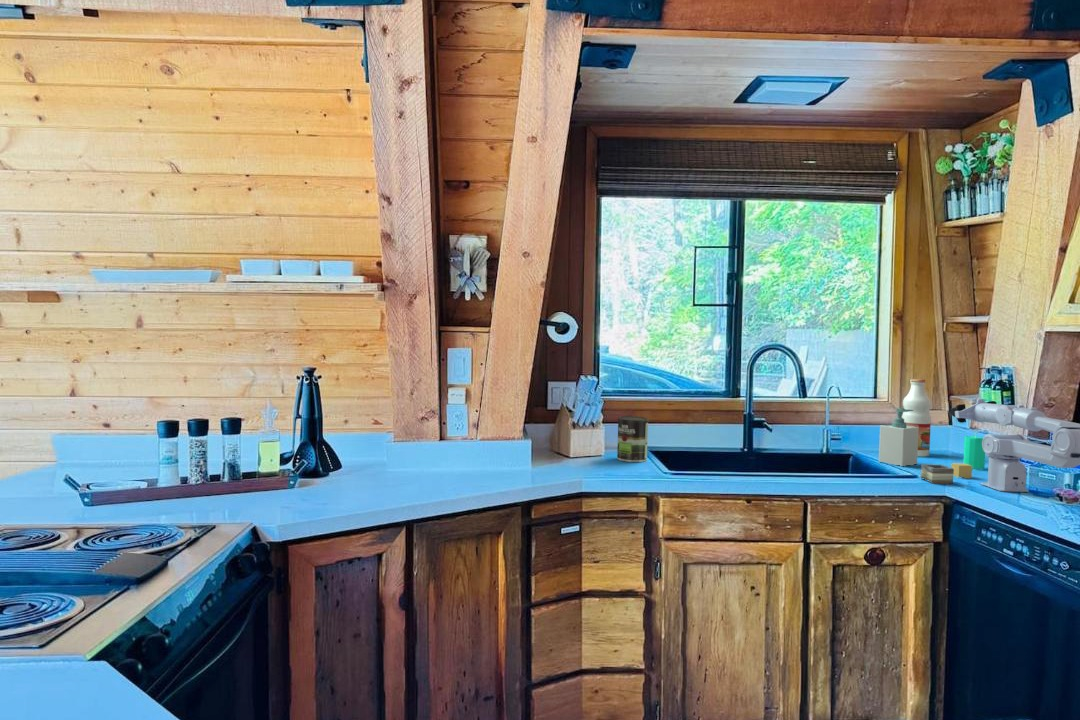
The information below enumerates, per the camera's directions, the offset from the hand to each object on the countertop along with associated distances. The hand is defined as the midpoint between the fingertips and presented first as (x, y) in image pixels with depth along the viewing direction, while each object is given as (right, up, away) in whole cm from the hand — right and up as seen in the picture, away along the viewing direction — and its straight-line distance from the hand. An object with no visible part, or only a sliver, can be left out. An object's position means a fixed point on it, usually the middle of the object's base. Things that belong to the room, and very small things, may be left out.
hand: (963, 410), depth 218 cm
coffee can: (-104, -18, +15) cm, 106 cm away
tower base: (-15, -20, -11) cm, 28 cm away
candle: (+10, -20, +11) cm, 25 cm away
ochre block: (-3, -21, -4) cm, 21 cm away
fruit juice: (+4, -19, +35) cm, 40 cm away
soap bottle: (-12, -20, +17) cm, 28 cm away
